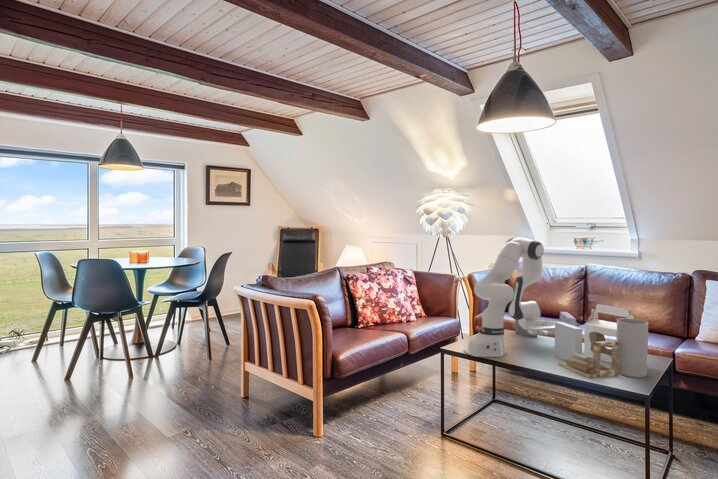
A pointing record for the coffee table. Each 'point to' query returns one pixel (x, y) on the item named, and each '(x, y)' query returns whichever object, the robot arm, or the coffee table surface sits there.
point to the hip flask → (522, 330)
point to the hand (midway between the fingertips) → (554, 333)
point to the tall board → (567, 340)
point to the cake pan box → (567, 318)
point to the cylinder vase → (632, 347)
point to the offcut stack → (581, 362)
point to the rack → (596, 361)
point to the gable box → (602, 329)
